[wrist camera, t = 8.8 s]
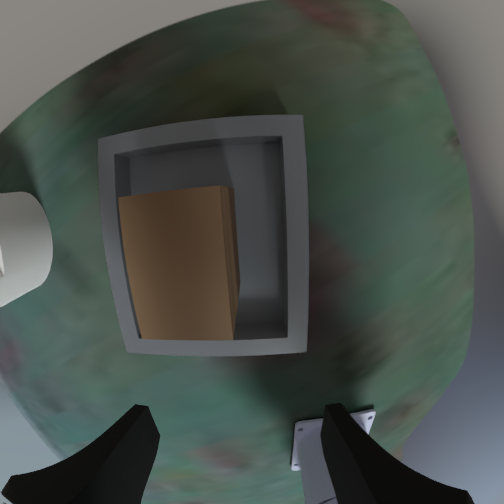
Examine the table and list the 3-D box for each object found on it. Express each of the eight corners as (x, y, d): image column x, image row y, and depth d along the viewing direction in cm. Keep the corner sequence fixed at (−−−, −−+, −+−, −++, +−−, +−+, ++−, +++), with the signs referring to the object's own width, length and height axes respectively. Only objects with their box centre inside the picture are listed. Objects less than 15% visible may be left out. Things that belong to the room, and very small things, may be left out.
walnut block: (233, 188, 16) (219, 185, 9) (240, 283, 17) (233, 339, 11) (170, 194, 16) (118, 197, 9) (180, 286, 17) (142, 339, 11)
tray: (299, 329, 19) (306, 351, 16) (142, 332, 19) (127, 352, 16) (294, 127, 16) (303, 114, 13) (119, 145, 16) (97, 139, 13)
